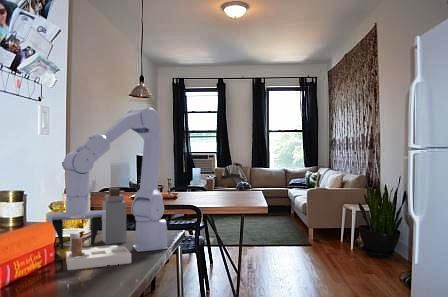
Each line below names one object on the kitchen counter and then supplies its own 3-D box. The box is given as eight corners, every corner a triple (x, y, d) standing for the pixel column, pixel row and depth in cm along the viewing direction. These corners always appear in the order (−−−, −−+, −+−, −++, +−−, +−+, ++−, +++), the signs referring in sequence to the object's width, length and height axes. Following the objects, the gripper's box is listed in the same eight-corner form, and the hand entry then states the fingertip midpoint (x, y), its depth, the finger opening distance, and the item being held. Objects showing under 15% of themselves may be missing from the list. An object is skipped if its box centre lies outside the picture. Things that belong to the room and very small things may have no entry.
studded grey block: (117, 249, 120) (117, 228, 120) (120, 253, 114) (120, 231, 114) (68, 254, 114) (68, 232, 114) (69, 259, 108) (69, 235, 108)
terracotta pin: (81, 262, 105) (81, 236, 105) (82, 265, 102) (82, 238, 102) (71, 263, 104) (71, 237, 104) (71, 266, 101) (71, 239, 101)
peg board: (124, 254, 113) (124, 246, 113) (131, 263, 104) (131, 253, 104) (66, 260, 106) (66, 251, 107) (67, 270, 97) (67, 260, 97)
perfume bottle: (105, 244, 127) (106, 189, 127) (102, 240, 133) (102, 188, 133) (126, 242, 130) (126, 189, 130) (121, 238, 136) (122, 187, 136)
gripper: (48, 198, 97) (47, 252, 96) (107, 196, 103) (107, 247, 103) (48, 196, 103) (47, 246, 103) (104, 193, 109) (103, 241, 109)
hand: (77, 246), depth 103 cm, fingers open, 7 cm apart
